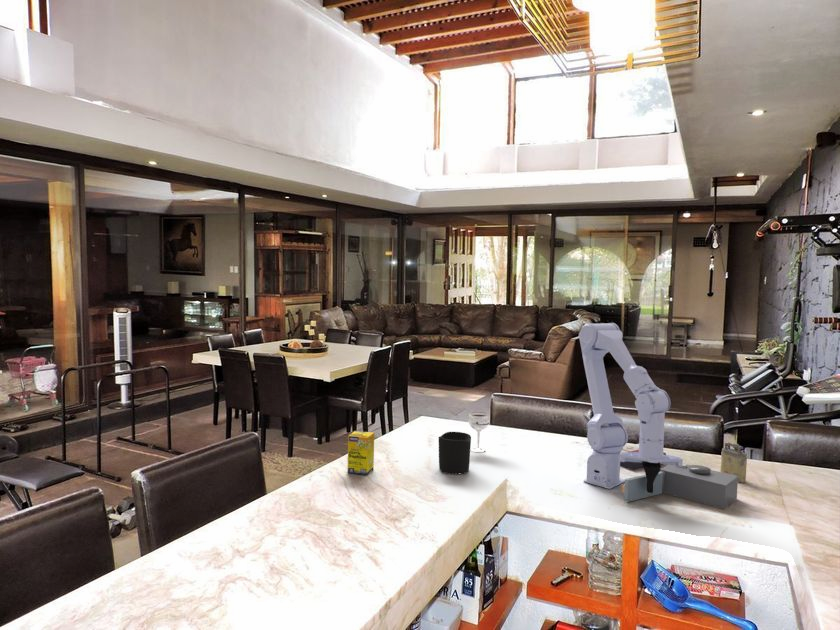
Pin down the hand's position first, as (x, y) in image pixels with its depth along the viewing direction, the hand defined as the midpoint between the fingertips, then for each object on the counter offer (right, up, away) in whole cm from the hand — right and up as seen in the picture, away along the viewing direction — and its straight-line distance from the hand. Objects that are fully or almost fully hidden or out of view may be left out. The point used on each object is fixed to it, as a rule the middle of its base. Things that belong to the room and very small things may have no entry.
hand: (649, 491), depth 143 cm
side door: (0, -2, +3) cm, 4 cm away
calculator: (+9, -2, +33) cm, 34 cm away
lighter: (+31, -2, +19) cm, 36 cm away
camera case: (+15, -3, +5) cm, 16 cm away
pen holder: (-48, -1, +22) cm, 53 cm away
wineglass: (-39, 0, +41) cm, 57 cm away
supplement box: (-75, 0, +19) cm, 77 cm away
